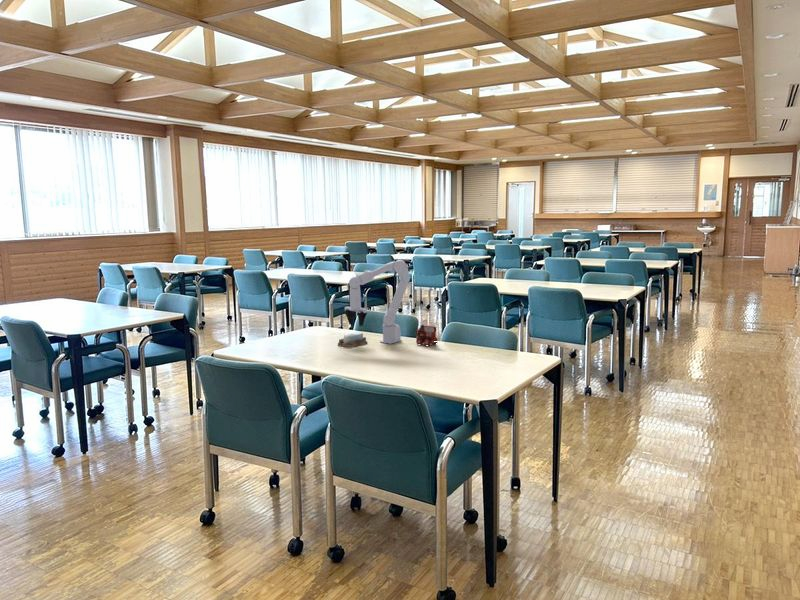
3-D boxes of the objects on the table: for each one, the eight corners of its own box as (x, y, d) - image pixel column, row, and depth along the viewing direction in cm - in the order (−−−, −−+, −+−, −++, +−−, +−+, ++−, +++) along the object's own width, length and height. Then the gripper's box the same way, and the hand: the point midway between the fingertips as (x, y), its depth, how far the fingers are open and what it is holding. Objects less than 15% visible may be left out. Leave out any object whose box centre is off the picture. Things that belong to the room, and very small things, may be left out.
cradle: (353, 341, 317) (353, 335, 317) (367, 343, 311) (367, 337, 311) (337, 345, 308) (337, 339, 308) (351, 347, 302) (351, 341, 301)
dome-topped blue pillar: (357, 339, 315) (357, 332, 315) (363, 340, 313) (362, 333, 312) (341, 343, 306) (341, 336, 305) (347, 344, 304) (346, 337, 303)
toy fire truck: (421, 342, 313) (421, 322, 311) (440, 345, 305) (440, 325, 303) (413, 344, 308) (412, 324, 306) (431, 347, 299) (431, 327, 298)
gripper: (340, 299, 313) (341, 324, 315) (360, 301, 304) (360, 327, 306) (349, 297, 318) (350, 322, 320) (369, 300, 309) (370, 325, 311)
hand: (356, 324), depth 313 cm, fingers open, 7 cm apart
